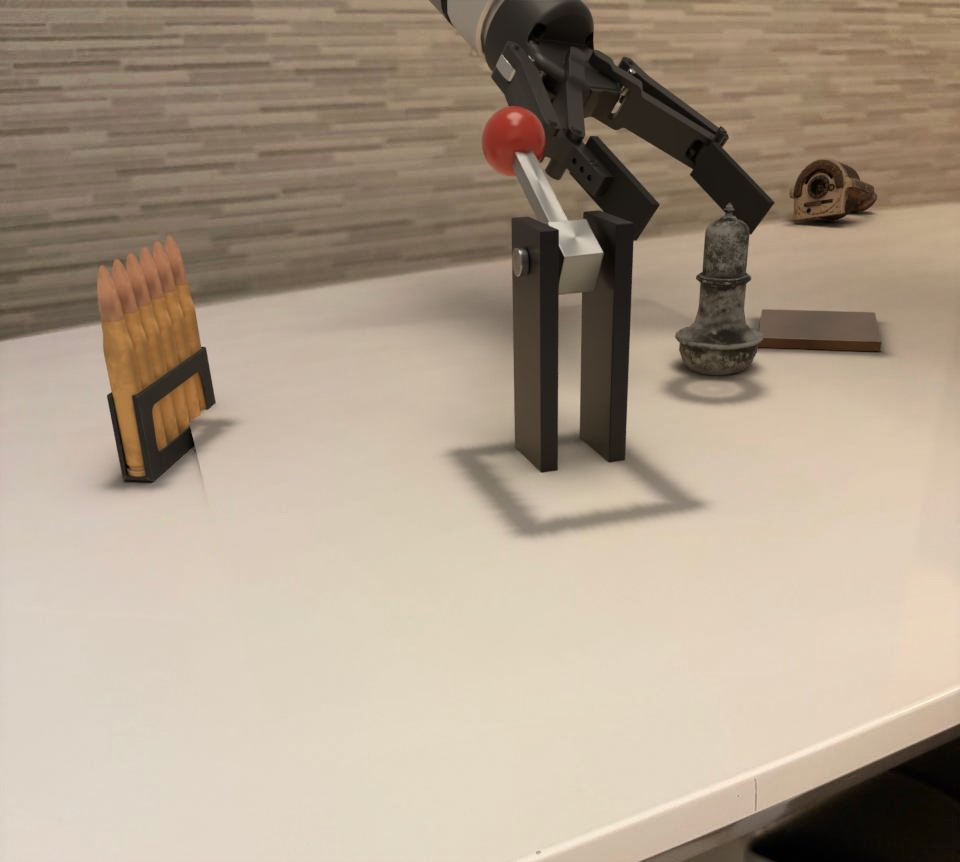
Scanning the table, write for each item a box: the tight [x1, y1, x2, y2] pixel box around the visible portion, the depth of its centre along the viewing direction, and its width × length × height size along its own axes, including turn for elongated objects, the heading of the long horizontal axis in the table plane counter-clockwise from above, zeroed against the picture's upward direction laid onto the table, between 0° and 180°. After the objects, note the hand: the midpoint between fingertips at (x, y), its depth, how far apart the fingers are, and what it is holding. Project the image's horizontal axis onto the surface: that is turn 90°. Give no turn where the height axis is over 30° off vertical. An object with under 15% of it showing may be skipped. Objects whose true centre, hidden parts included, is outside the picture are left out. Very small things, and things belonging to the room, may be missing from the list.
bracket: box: [510, 209, 635, 474], centre depth 58 cm, size 12×9×14 cm
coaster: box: [757, 308, 883, 352], centre depth 86 cm, size 9×9×1 cm
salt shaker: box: [674, 203, 763, 376], centre depth 72 cm, size 6×6×12 cm
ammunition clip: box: [96, 234, 216, 482], centre depth 64 cm, size 11×2×12 cm, turn 170°
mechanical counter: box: [789, 157, 878, 222], centre depth 128 cm, size 7×13×10 cm
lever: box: [481, 106, 604, 296], centre depth 58 cm, size 13×4×4 cm, turn 18°
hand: (706, 221), depth 72 cm, fingers open, 13 cm apart
